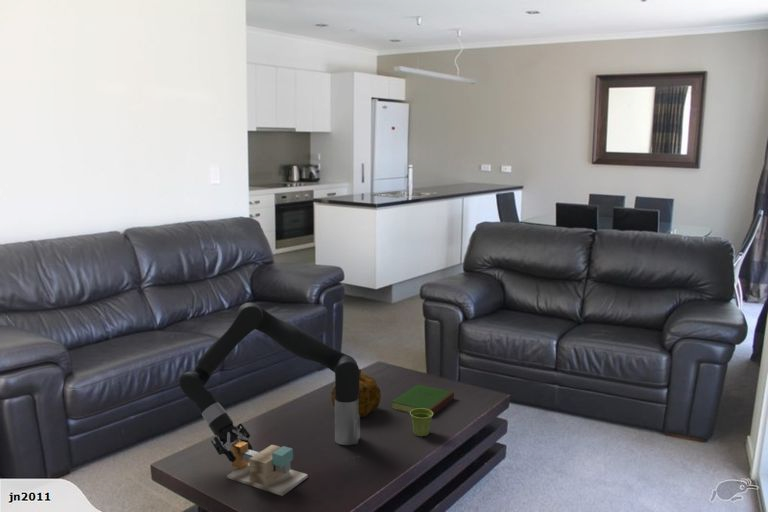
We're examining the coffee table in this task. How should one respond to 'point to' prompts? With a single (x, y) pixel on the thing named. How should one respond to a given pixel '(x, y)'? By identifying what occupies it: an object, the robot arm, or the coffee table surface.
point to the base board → (277, 486)
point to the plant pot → (421, 421)
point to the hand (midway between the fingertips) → (242, 455)
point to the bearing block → (263, 466)
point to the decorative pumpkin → (365, 394)
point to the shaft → (244, 454)
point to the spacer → (282, 456)
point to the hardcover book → (423, 399)
